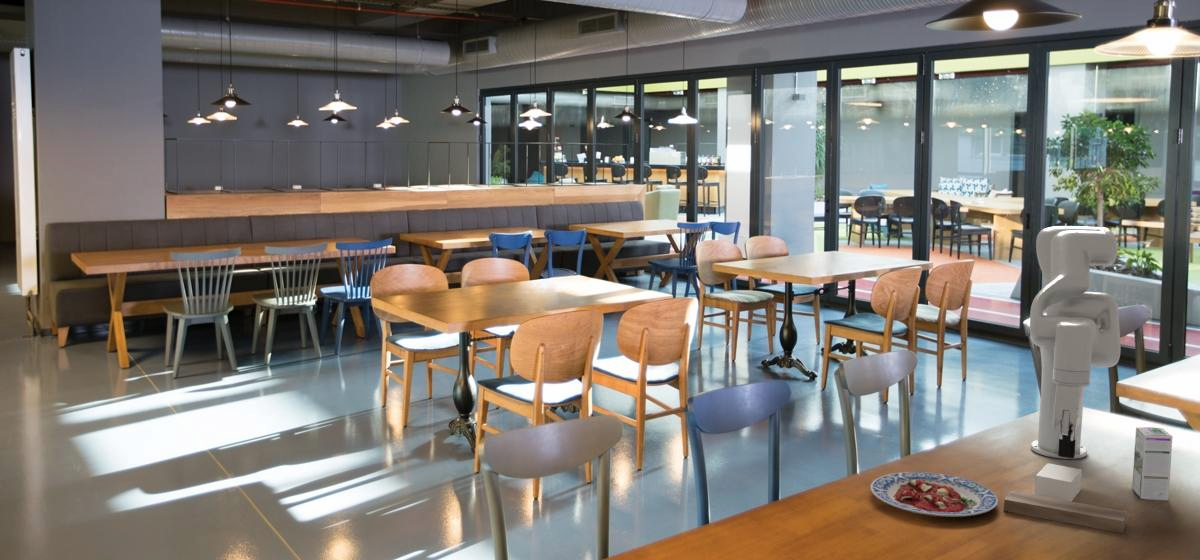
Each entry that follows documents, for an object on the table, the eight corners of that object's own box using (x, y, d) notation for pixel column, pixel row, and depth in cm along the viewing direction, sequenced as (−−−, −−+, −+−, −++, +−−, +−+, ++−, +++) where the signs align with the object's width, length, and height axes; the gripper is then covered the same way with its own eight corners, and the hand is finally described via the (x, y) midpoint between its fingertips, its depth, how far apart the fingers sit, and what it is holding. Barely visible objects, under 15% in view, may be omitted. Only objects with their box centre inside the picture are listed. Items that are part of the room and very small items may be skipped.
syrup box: (1169, 501, 205) (1174, 435, 203) (1139, 499, 206) (1144, 434, 204) (1159, 491, 211) (1164, 427, 209) (1130, 489, 212) (1135, 426, 210)
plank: (1009, 501, 205) (1009, 490, 205) (1125, 523, 193) (1126, 511, 193) (1003, 510, 200) (1004, 499, 200) (1123, 533, 188) (1124, 521, 188)
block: (1046, 484, 216) (1047, 463, 215) (1080, 491, 212) (1081, 469, 211) (1034, 497, 208) (1035, 475, 208) (1069, 504, 204) (1070, 482, 203)
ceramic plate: (848, 503, 206) (848, 490, 205) (902, 473, 224) (903, 460, 224) (967, 536, 188) (968, 521, 188) (1015, 500, 207) (1016, 487, 206)
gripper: (1057, 369, 223) (1053, 446, 225) (1047, 380, 211) (1043, 461, 213) (1093, 373, 219) (1088, 451, 221) (1085, 384, 207) (1080, 467, 209)
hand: (1066, 456), depth 217 cm, fingers closed
